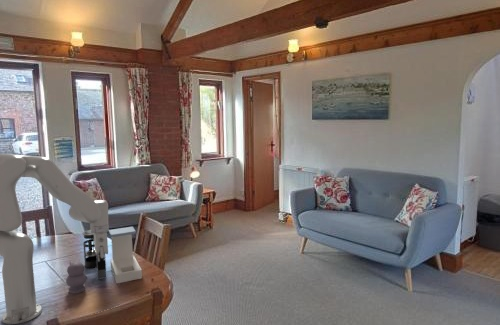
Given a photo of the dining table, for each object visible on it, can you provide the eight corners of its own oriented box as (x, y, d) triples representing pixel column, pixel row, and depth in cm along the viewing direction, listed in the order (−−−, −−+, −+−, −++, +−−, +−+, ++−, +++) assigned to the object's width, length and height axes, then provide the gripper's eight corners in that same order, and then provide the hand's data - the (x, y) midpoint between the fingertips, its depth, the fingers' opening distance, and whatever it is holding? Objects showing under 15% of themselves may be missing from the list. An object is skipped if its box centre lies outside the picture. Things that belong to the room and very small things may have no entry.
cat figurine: (90, 290, 155) (88, 263, 153) (71, 296, 149) (68, 268, 147) (83, 283, 161) (81, 257, 159) (64, 289, 155) (61, 262, 154)
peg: (106, 277, 164) (105, 251, 162) (98, 278, 162) (96, 252, 161) (105, 274, 167) (104, 249, 165) (97, 276, 165) (96, 250, 164)
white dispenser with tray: (142, 278, 165) (139, 237, 163) (116, 283, 160) (113, 241, 158) (134, 263, 182) (132, 225, 179) (110, 267, 177) (108, 229, 174)
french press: (81, 264, 181) (77, 219, 178) (99, 259, 187) (97, 215, 184) (90, 271, 173) (86, 224, 170) (109, 265, 179) (106, 220, 176)
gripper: (111, 232, 156) (112, 273, 158) (106, 222, 171) (108, 260, 173) (91, 234, 153) (93, 276, 155) (89, 224, 167) (90, 263, 169)
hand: (101, 267), depth 164 cm, fingers closed on peg, 3 cm apart
